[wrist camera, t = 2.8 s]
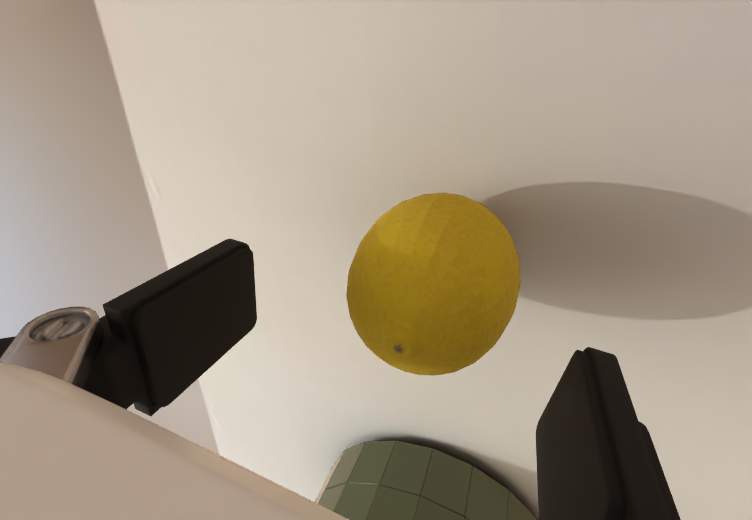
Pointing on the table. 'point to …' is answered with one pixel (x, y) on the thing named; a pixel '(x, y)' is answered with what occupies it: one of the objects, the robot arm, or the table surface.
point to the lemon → (433, 284)
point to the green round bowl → (413, 486)
